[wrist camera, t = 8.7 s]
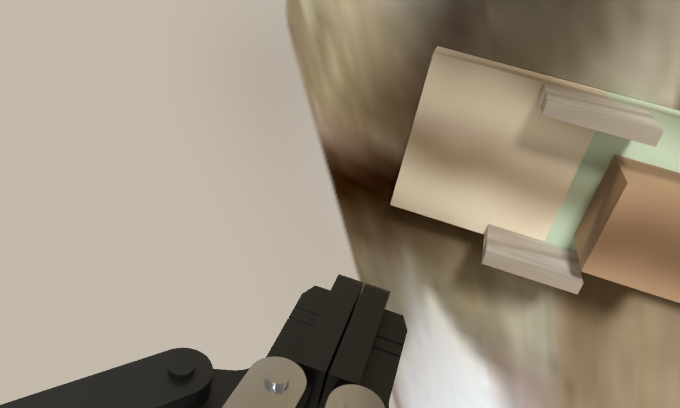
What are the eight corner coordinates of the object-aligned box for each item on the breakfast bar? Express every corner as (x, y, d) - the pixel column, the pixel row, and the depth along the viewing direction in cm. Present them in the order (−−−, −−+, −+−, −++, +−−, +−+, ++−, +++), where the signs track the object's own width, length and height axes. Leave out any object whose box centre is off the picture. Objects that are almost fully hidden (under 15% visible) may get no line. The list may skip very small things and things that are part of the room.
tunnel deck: (437, 45, 32) (424, 65, 28) (805, 144, 30) (862, 186, 25) (395, 192, 37) (378, 230, 33) (708, 289, 34) (739, 347, 30)
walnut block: (614, 154, 30) (627, 183, 27) (717, 183, 30) (744, 217, 26) (573, 235, 33) (581, 271, 30) (667, 264, 32) (686, 305, 29)
